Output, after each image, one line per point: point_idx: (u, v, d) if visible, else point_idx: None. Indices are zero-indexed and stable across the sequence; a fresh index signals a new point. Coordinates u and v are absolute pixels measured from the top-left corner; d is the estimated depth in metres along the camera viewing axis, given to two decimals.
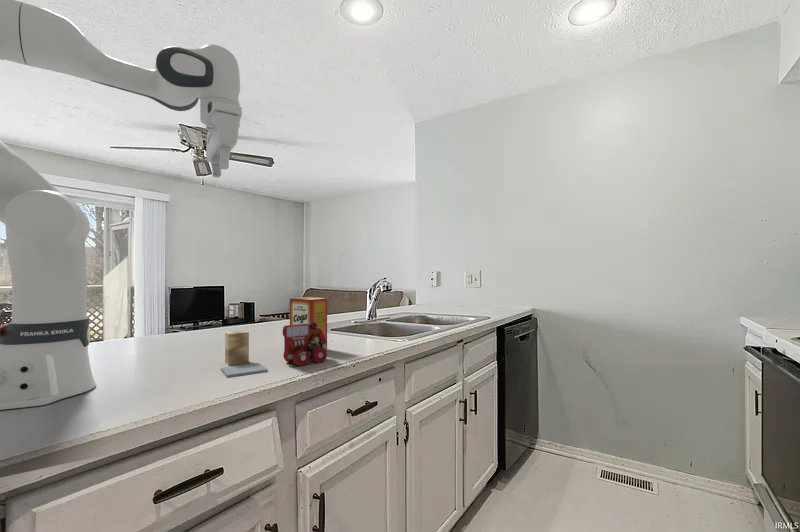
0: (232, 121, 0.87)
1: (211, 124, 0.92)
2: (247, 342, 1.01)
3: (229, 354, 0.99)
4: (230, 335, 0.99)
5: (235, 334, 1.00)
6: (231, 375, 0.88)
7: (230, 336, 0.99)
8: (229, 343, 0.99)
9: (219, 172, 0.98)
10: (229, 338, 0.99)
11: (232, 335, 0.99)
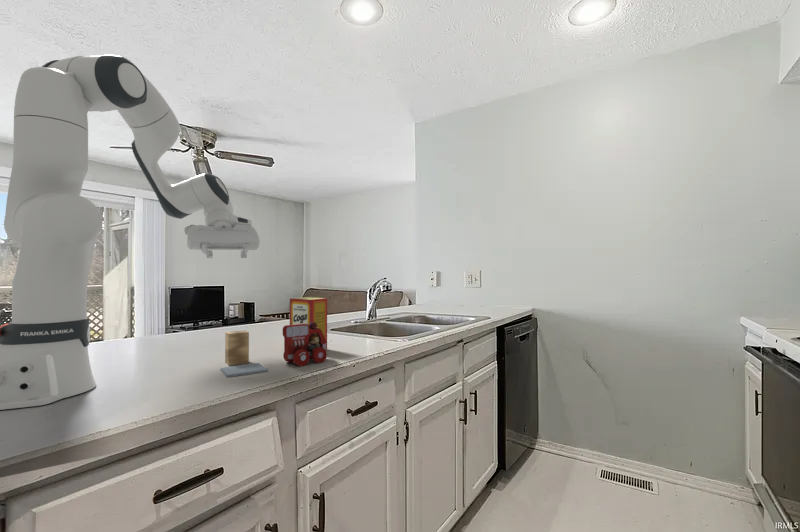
0: None
1: (230, 227, 1.21)
2: (247, 342, 1.01)
3: (229, 354, 0.99)
4: (230, 335, 0.99)
5: (235, 334, 1.00)
6: (231, 375, 0.88)
7: (230, 336, 0.99)
8: (229, 343, 0.99)
9: None
10: (229, 338, 0.99)
11: (232, 335, 0.99)
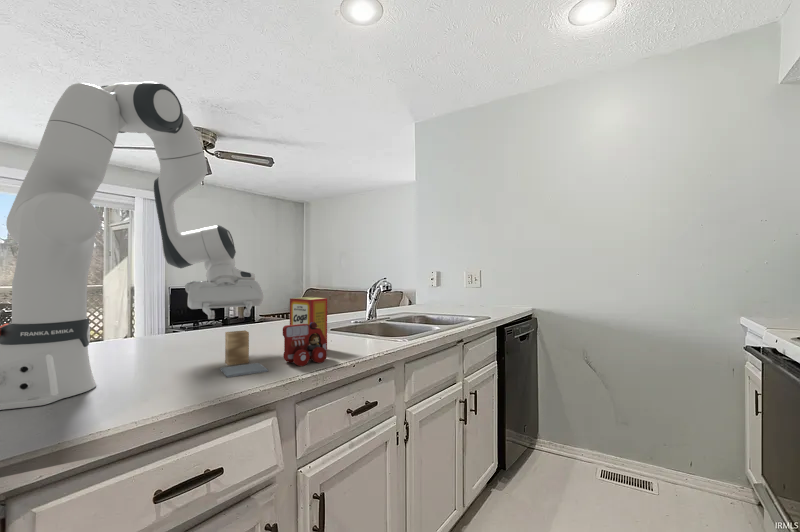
0: None
1: (233, 282, 1.15)
2: (247, 342, 1.01)
3: (229, 354, 0.99)
4: (230, 335, 0.99)
5: (235, 334, 1.00)
6: (231, 375, 0.88)
7: (230, 336, 0.99)
8: (229, 343, 0.99)
9: None
10: (229, 338, 0.99)
11: (232, 335, 0.99)
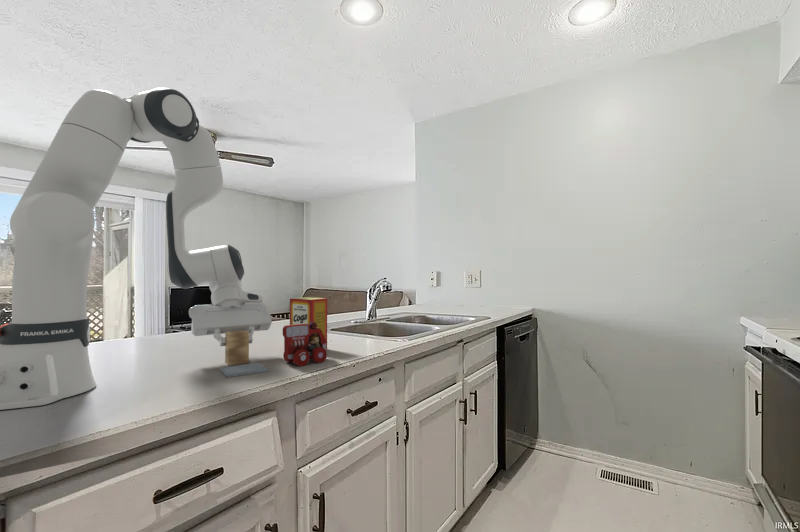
0: None
1: (240, 306, 1.08)
2: (247, 342, 1.01)
3: (229, 354, 0.99)
4: (230, 335, 0.99)
5: (235, 334, 1.00)
6: (231, 375, 0.88)
7: (230, 336, 0.99)
8: (229, 343, 0.99)
9: None
10: (229, 338, 0.99)
11: (232, 335, 0.99)
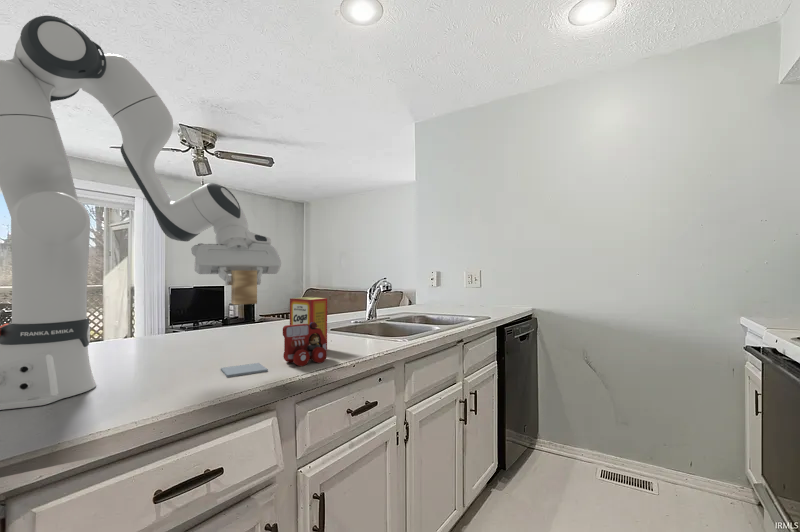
0: None
1: (247, 246, 1.00)
2: (255, 281, 0.93)
3: (236, 292, 0.91)
4: (237, 272, 0.91)
5: (242, 271, 0.92)
6: (231, 375, 0.88)
7: (237, 273, 0.91)
8: (236, 280, 0.91)
9: None
10: (236, 275, 0.91)
11: (239, 272, 0.91)
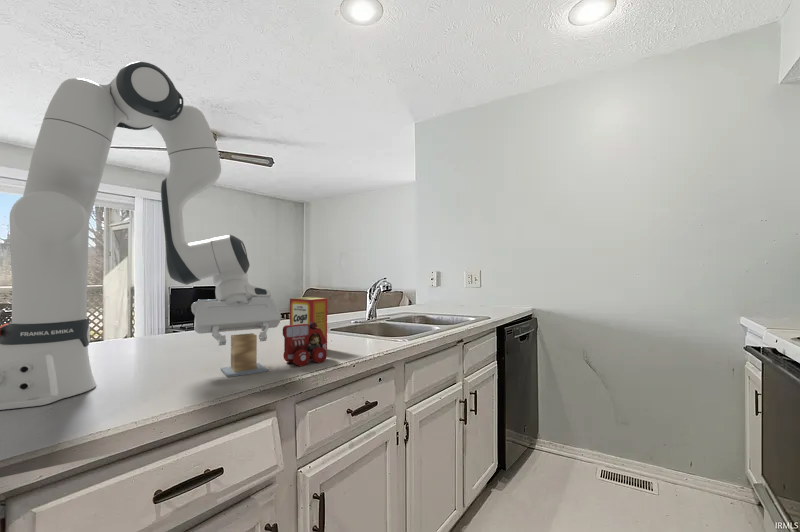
0: None
1: (246, 301, 1.00)
2: (255, 346, 0.93)
3: (235, 359, 0.90)
4: (236, 339, 0.91)
5: (242, 337, 0.91)
6: (231, 375, 0.88)
7: (236, 340, 0.91)
8: (235, 347, 0.90)
9: None
10: (235, 342, 0.90)
11: (238, 339, 0.91)
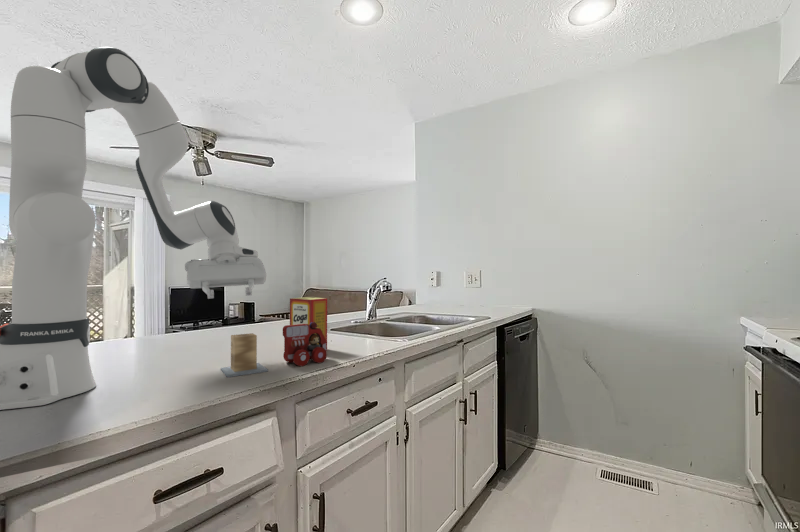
0: None
1: (234, 260, 1.10)
2: (255, 346, 0.93)
3: (235, 359, 0.90)
4: (236, 339, 0.91)
5: (242, 337, 0.91)
6: (231, 375, 0.88)
7: (236, 340, 0.91)
8: (235, 347, 0.90)
9: None
10: (235, 342, 0.90)
11: (238, 339, 0.91)
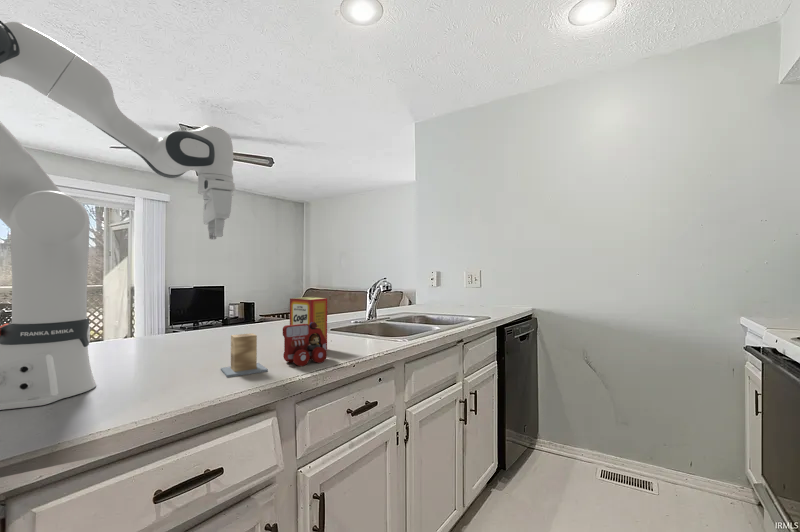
0: (226, 197, 0.99)
1: (207, 197, 1.04)
2: (255, 346, 0.93)
3: (235, 359, 0.90)
4: (236, 339, 0.91)
5: (242, 337, 0.91)
6: (231, 375, 0.88)
7: (236, 340, 0.91)
8: (235, 347, 0.90)
9: (215, 235, 1.10)
10: (235, 342, 0.90)
11: (238, 339, 0.91)
